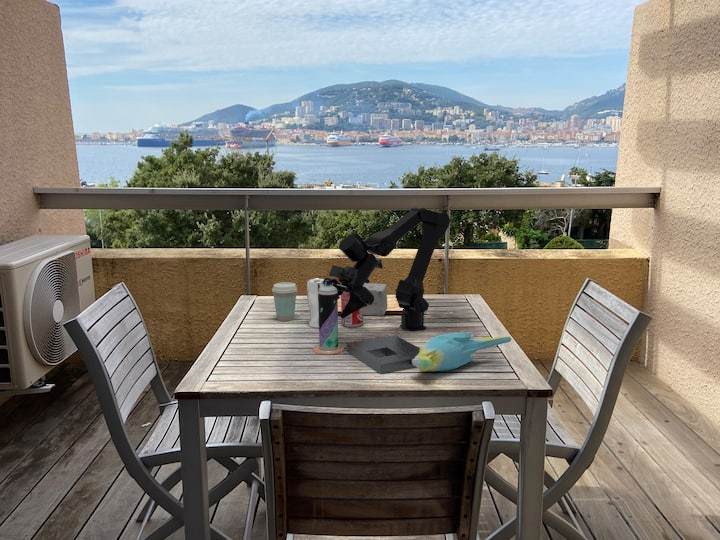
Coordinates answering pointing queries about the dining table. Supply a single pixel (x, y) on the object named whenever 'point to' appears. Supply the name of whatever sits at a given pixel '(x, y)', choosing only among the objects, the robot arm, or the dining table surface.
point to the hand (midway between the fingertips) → (331, 314)
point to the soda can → (355, 317)
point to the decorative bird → (451, 351)
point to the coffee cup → (285, 300)
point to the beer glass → (314, 300)
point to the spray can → (328, 317)
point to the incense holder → (376, 299)
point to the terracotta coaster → (319, 351)
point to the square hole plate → (384, 353)
